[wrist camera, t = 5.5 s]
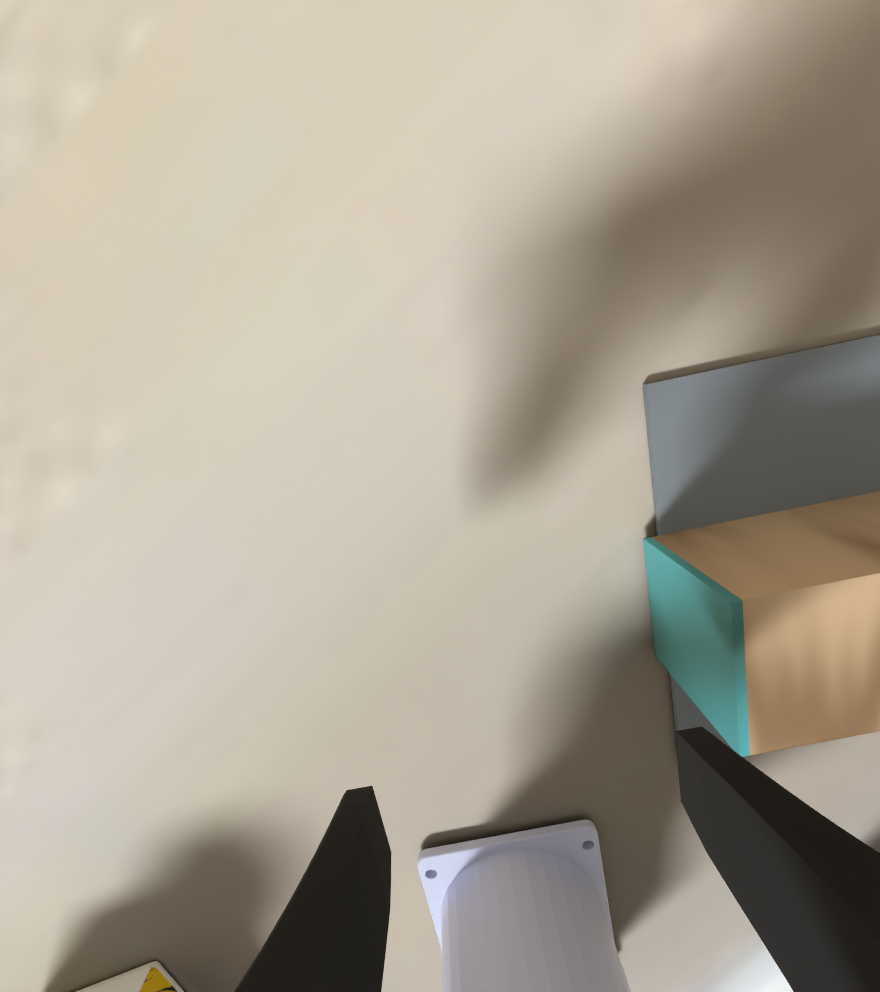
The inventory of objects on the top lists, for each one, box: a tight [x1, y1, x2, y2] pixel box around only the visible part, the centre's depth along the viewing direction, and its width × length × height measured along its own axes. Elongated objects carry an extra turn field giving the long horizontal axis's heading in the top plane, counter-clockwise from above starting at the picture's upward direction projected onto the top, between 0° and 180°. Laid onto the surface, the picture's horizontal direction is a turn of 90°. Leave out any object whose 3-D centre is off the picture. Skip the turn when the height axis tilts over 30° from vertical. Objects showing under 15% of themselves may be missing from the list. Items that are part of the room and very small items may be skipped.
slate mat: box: [643, 335, 880, 750], centre depth 17 cm, size 16×14×1 cm
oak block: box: [643, 491, 880, 757], centre depth 15 cm, size 5×5×9 cm
